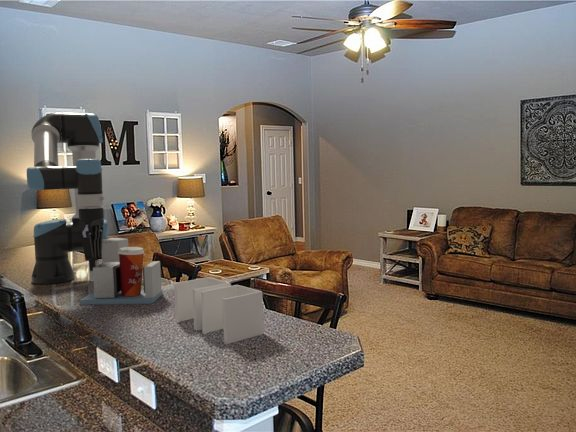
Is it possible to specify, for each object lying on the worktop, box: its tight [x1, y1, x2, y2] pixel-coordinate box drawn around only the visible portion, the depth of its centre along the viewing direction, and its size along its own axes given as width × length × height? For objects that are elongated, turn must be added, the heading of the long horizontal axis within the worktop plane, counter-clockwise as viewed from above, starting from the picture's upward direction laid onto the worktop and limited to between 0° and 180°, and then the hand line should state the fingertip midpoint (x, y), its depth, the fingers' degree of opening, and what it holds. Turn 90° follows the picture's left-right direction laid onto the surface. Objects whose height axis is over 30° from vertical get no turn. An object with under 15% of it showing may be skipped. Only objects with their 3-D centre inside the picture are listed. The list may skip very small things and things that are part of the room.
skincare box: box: [101, 237, 129, 264], centre depth 202 cm, size 8×7×16 cm
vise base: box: [79, 260, 164, 306], centre depth 168 cm, size 12×23×12 cm, turn 88°
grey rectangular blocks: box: [173, 276, 264, 345], centre depth 135 cm, size 25×11×11 cm, turn 40°
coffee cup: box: [118, 246, 145, 296], centre depth 168 cm, size 8×8×15 cm
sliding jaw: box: [92, 262, 121, 298], centre depth 168 cm, size 10×7×10 cm
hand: (94, 280), depth 168 cm, fingers closed
